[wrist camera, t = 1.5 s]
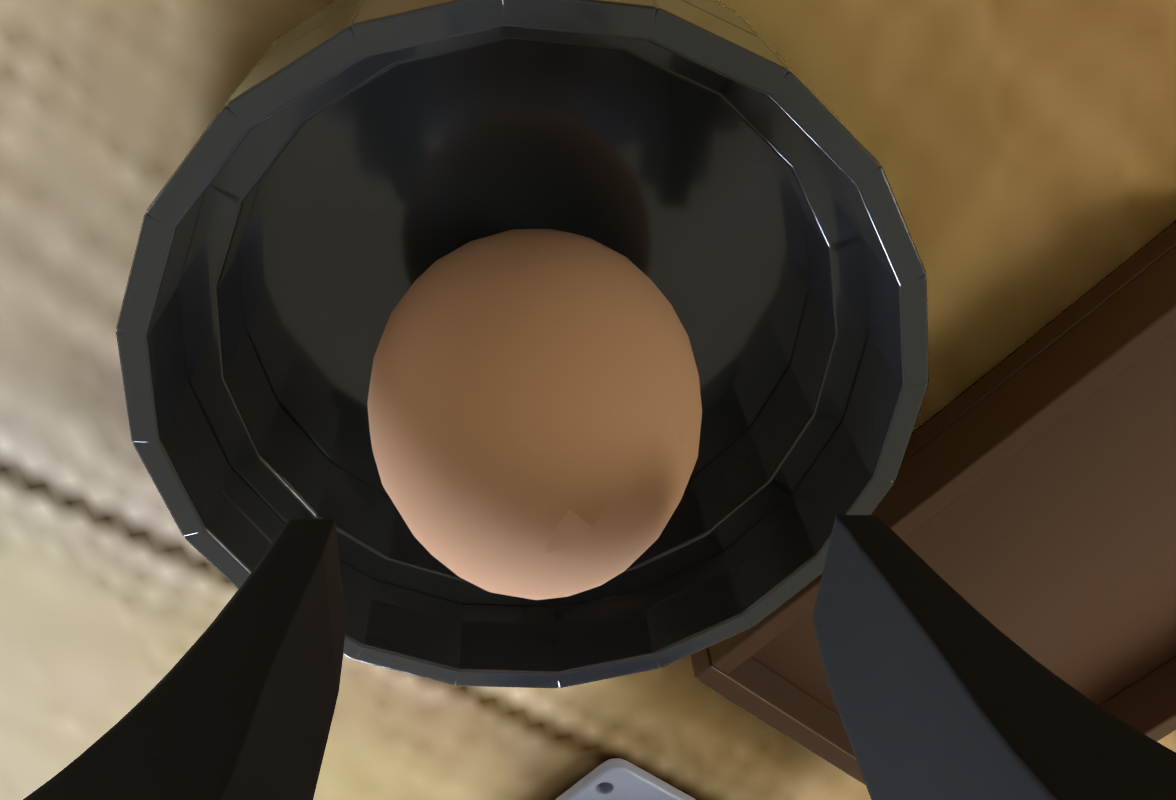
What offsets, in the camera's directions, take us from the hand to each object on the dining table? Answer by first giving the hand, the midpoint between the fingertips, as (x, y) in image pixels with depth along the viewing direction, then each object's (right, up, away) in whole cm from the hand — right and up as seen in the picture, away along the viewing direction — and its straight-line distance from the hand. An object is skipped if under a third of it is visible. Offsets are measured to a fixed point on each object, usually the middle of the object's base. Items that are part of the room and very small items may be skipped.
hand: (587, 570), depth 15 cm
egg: (-1, +5, +7) cm, 9 cm away
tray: (+13, -2, +12) cm, 18 cm away
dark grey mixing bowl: (-1, +5, +7) cm, 9 cm away
